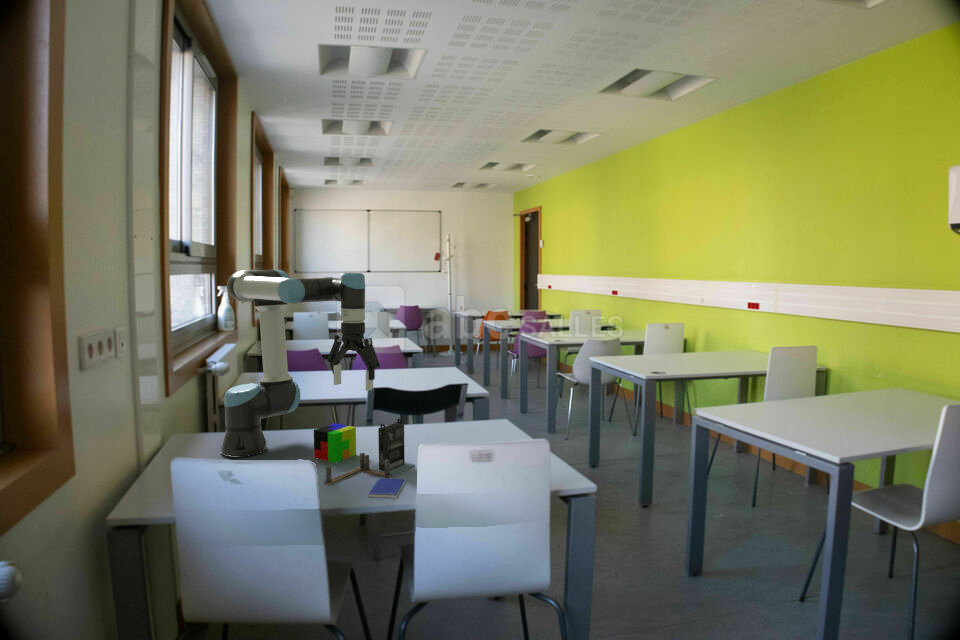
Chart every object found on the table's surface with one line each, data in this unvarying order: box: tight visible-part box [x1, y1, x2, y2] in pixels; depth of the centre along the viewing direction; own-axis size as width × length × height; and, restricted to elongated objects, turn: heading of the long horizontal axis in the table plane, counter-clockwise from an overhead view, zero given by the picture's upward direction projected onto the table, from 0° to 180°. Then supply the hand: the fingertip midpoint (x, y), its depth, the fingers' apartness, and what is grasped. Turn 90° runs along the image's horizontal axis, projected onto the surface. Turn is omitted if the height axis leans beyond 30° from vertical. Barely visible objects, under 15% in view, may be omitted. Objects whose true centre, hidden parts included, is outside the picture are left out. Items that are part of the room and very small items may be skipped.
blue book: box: [367, 477, 406, 499], centre depth 171 cm, size 2×8×12 cm
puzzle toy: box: [313, 423, 357, 464], centre depth 200 cm, size 10×10×10 cm
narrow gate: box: [362, 454, 392, 479], centre depth 183 cm, size 2×10×6 cm, turn 58°
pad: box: [369, 461, 416, 477], centre depth 189 cm, size 11×11×1 cm
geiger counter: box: [377, 418, 406, 471], centre depth 189 cm, size 10×4×15 cm, turn 145°
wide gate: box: [324, 452, 366, 486], centre depth 181 cm, size 2×16×6 cm, turn 148°
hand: (353, 387), depth 186 cm, fingers open, 13 cm apart
